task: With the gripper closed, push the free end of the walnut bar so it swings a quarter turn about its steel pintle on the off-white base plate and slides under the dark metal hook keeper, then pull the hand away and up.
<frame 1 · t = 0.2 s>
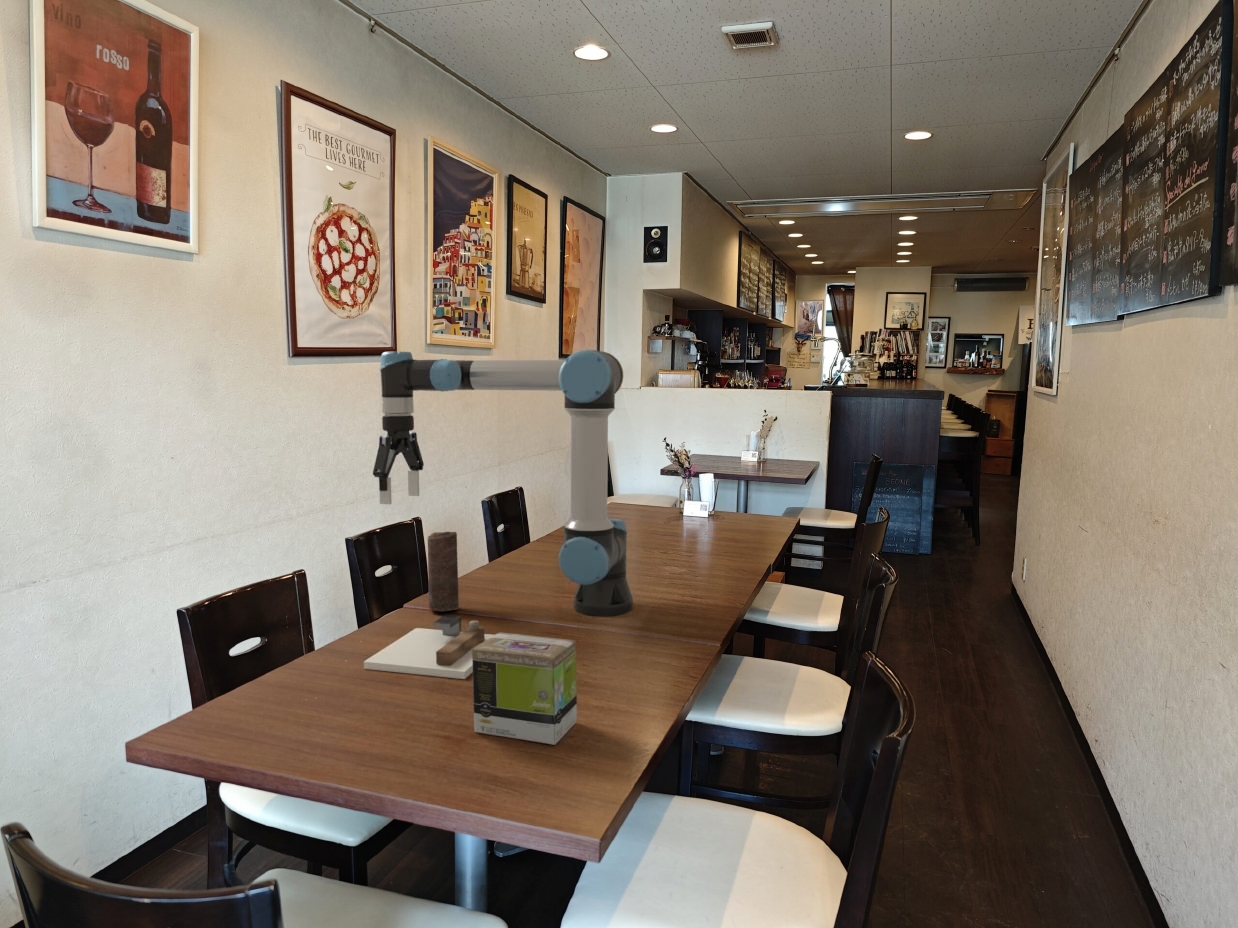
hand: (400, 499, 199), 28 cm above the table, fingers open, 13 cm apart
link: (461, 640, 167), point 4 cm above the table, hinge at 0.0°
tea box: (526, 728, 135), on the table
base plate: (438, 654, 169), on the table
keeper: (447, 644, 175), resting on base plate
candle: (443, 611, 200), on the table
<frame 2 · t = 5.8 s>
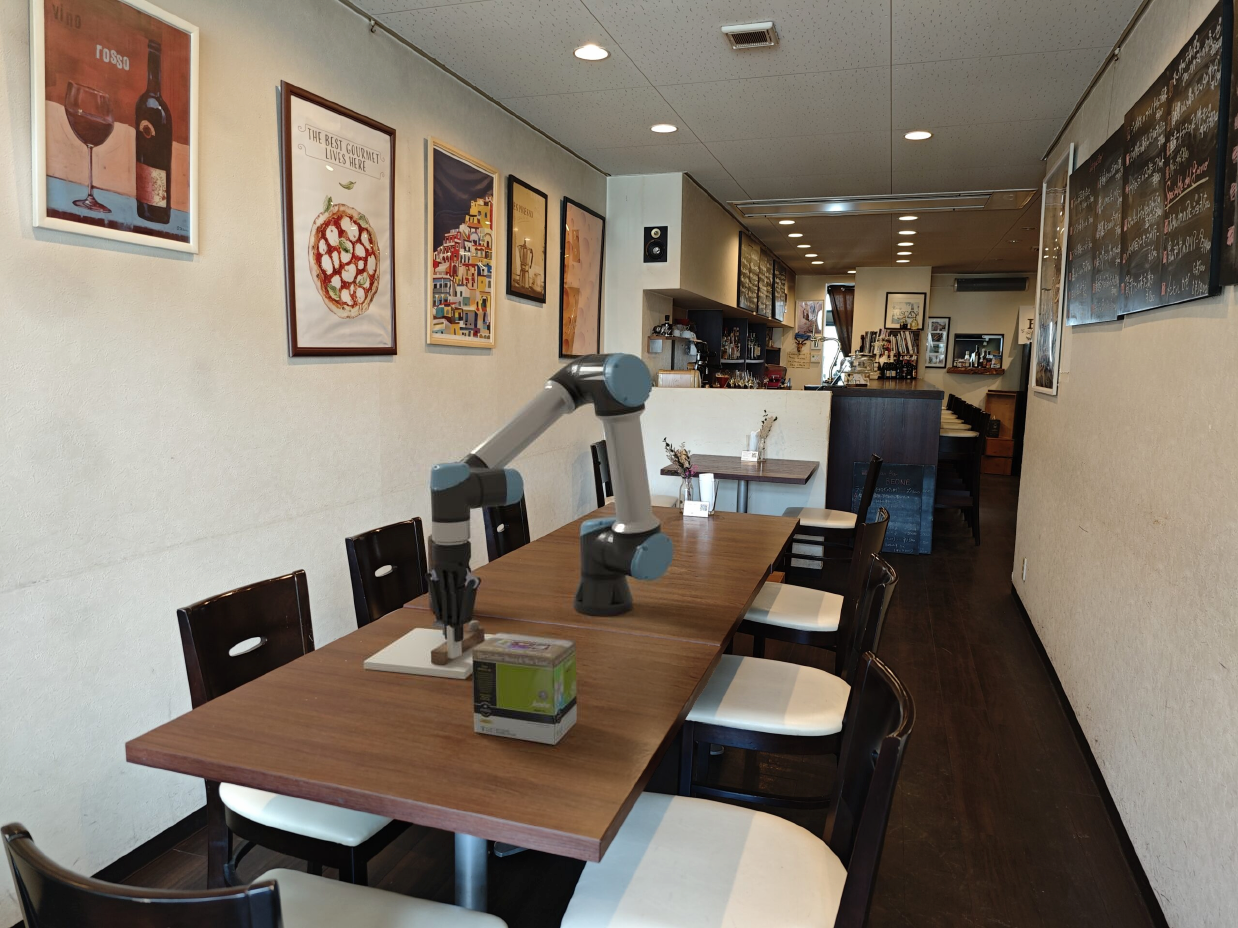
hand: (454, 655, 160), 3 cm above the table, fingers closed
link: (459, 640, 167), point 4 cm above the table, hinge at -4.8°, touching gripper
everything else where it was.
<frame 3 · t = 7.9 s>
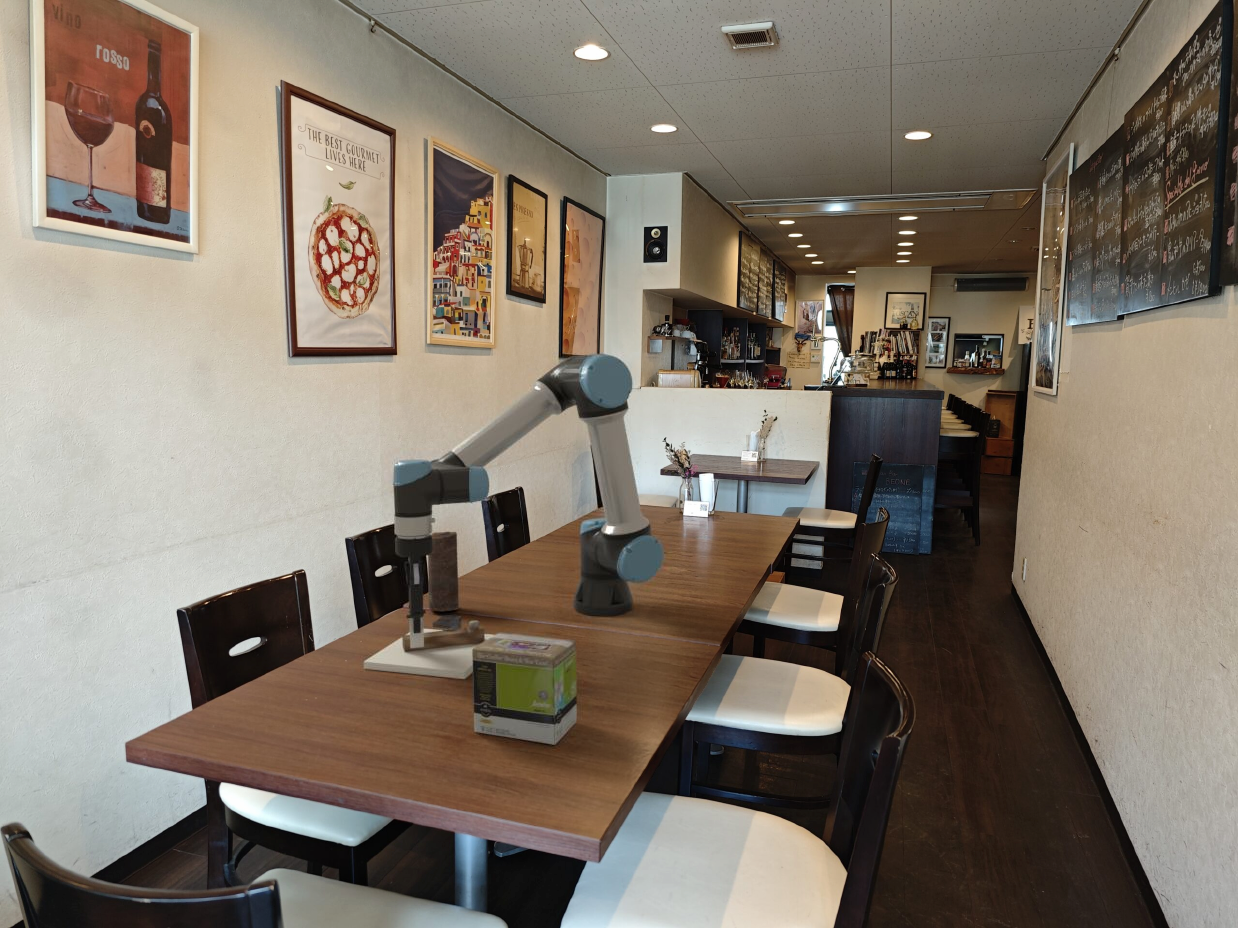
hand: (417, 646, 166), 3 cm above the table, fingers closed
link: (444, 634, 170), point 4 cm above the table, hinge at -53.6°, touching gripper
everything else where it was.
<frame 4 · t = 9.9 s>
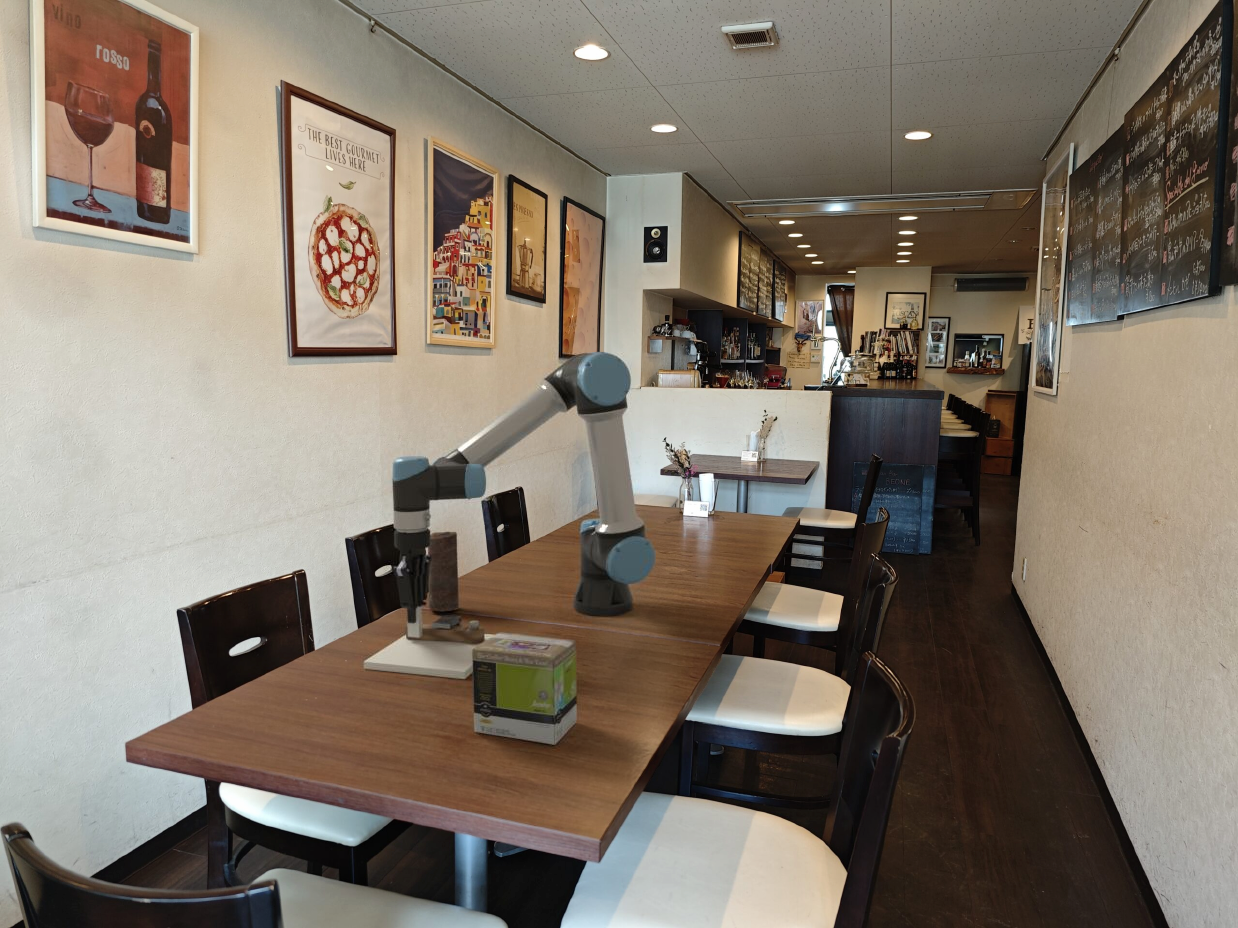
hand: (415, 635, 173), 3 cm above the table, fingers closed
link: (446, 629, 174), point 4 cm above the table, hinge at -85.2°, touching gripper
everything else where it was.
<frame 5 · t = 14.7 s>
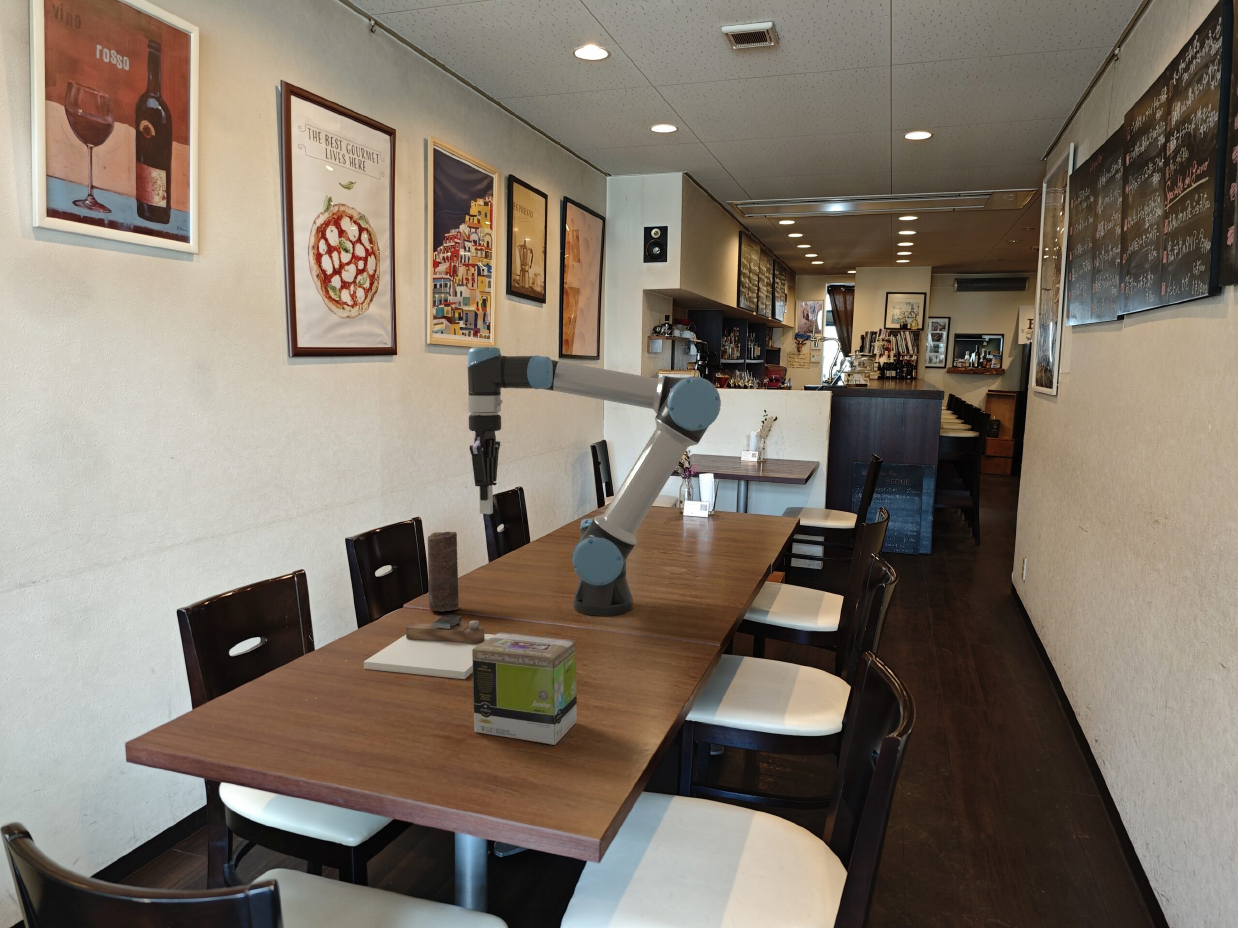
hand: (486, 513, 189), 26 cm above the table, fingers closed
link: (446, 629, 174), point 4 cm above the table, hinge at -85.3°
everything else where it was.
at the end: link at -85° (first picture: +0°) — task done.
